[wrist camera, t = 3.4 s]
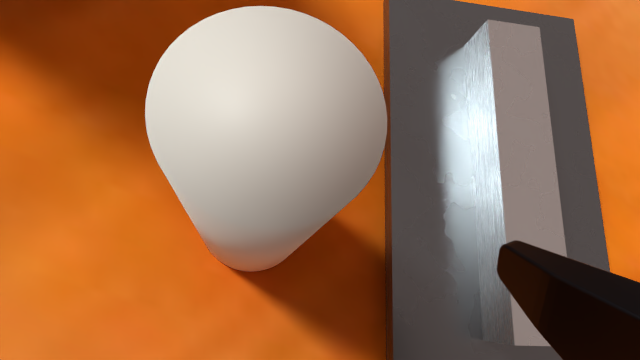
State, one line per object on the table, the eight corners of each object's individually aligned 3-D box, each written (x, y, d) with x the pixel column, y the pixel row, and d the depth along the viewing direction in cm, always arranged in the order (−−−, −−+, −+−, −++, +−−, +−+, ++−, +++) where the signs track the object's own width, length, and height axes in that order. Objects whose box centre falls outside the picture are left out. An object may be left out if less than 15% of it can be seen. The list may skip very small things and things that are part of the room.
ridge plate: (613, 404, 22) (679, 422, 19) (386, 405, 20) (415, 425, 17) (562, 28, 28) (605, -8, 25) (383, 1, 26) (404, -42, 23)
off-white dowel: (321, 203, 22) (424, 83, 10) (269, 291, 21) (315, 278, 8) (237, 152, 22) (235, -34, 10) (178, 236, 21) (89, 140, 8)
